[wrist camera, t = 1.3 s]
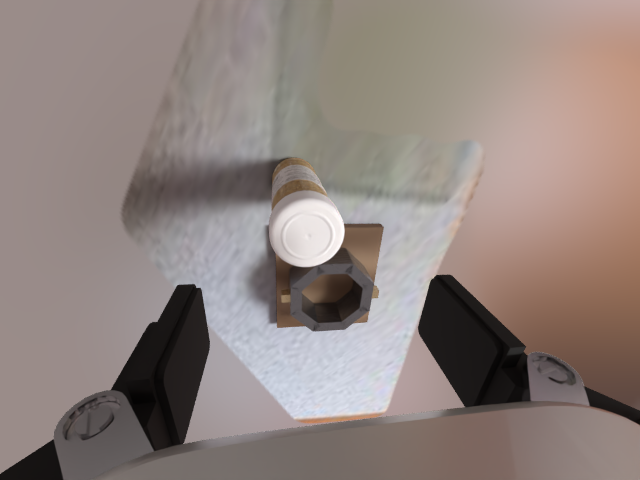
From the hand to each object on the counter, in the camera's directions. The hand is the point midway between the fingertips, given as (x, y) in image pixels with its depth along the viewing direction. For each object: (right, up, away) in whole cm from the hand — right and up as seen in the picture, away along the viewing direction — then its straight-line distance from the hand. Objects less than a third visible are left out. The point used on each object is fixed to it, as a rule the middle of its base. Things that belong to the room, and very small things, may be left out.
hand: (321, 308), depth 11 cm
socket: (+1, -2, +23) cm, 23 cm away
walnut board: (+1, -2, +23) cm, 23 cm away
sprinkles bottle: (-3, +9, +17) cm, 19 cm away
